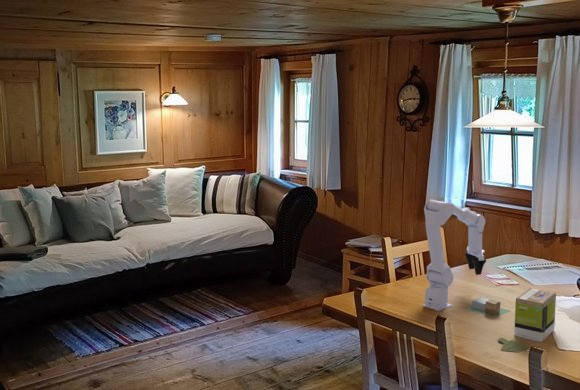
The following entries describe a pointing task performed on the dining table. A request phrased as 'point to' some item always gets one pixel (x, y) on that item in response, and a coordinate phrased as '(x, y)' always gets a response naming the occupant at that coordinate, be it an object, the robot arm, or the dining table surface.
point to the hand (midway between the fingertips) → (474, 271)
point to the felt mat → (502, 311)
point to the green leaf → (513, 345)
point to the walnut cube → (492, 307)
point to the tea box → (535, 314)
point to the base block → (479, 303)
